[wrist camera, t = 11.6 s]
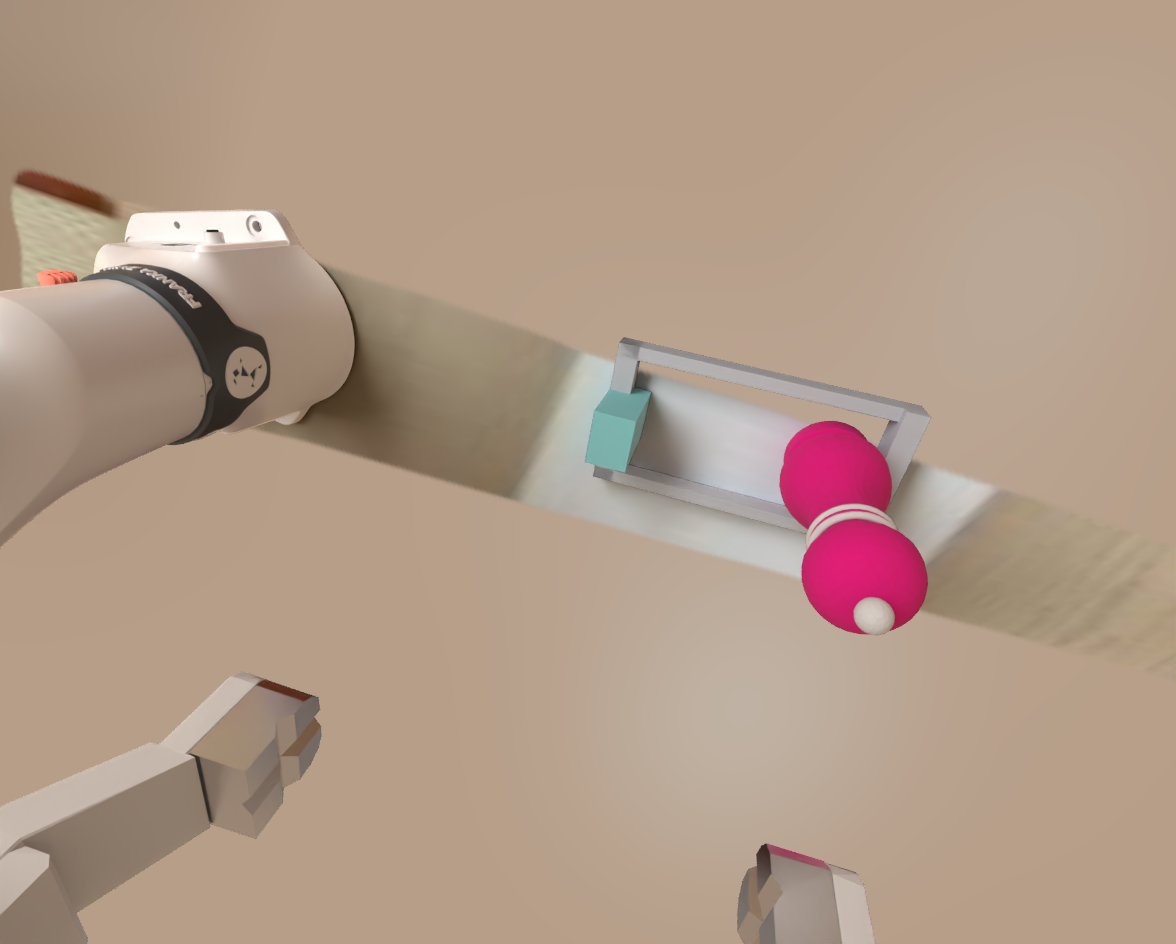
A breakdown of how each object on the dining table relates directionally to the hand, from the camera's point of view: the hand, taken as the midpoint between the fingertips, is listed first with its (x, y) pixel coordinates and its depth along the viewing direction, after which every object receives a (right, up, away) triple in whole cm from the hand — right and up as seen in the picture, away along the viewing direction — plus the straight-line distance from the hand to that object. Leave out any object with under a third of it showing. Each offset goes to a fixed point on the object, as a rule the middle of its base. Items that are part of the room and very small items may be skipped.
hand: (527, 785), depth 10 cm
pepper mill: (+20, +7, +34) cm, 40 cm away
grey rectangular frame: (+13, +8, +35) cm, 38 cm away
